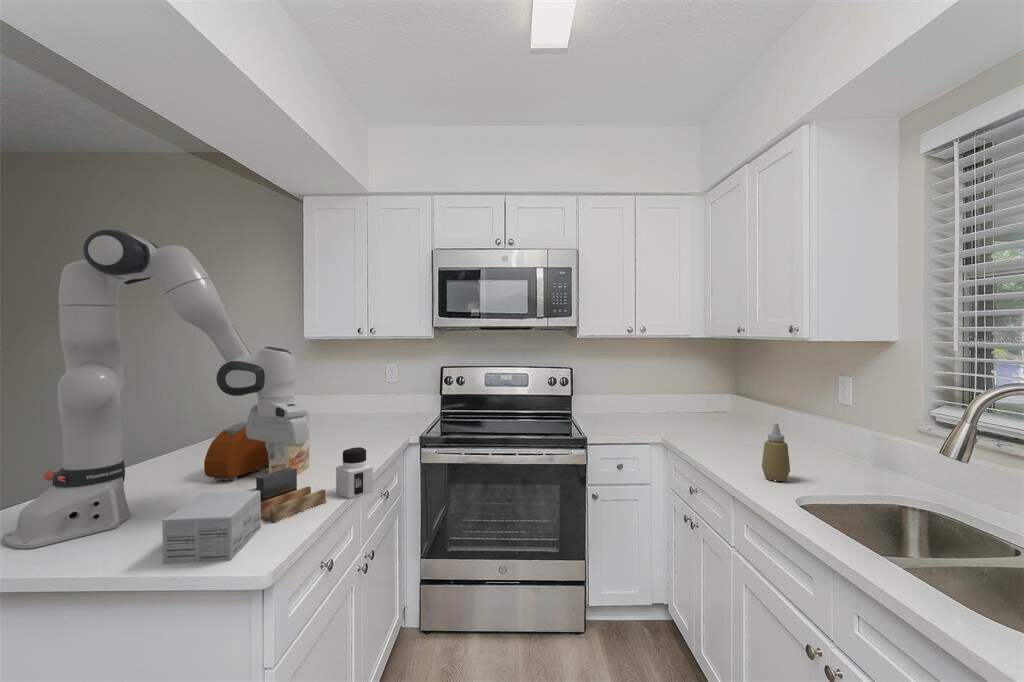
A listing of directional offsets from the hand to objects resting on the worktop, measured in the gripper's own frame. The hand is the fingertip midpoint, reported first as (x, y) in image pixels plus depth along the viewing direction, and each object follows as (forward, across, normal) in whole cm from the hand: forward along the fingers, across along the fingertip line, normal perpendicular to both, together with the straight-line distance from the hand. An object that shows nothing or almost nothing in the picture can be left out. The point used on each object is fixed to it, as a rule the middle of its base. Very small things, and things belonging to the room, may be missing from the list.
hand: (274, 459), depth 130 cm
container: (+12, +10, +19) cm, 25 cm away
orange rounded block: (+13, -38, +17) cm, 43 cm away
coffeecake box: (+13, -24, +24) cm, 36 cm away
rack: (+13, +1, +1) cm, 13 cm away
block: (+12, 0, +1) cm, 12 cm away
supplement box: (+14, +10, -21) cm, 27 cm away
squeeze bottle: (+9, +120, +91) cm, 151 cm away
